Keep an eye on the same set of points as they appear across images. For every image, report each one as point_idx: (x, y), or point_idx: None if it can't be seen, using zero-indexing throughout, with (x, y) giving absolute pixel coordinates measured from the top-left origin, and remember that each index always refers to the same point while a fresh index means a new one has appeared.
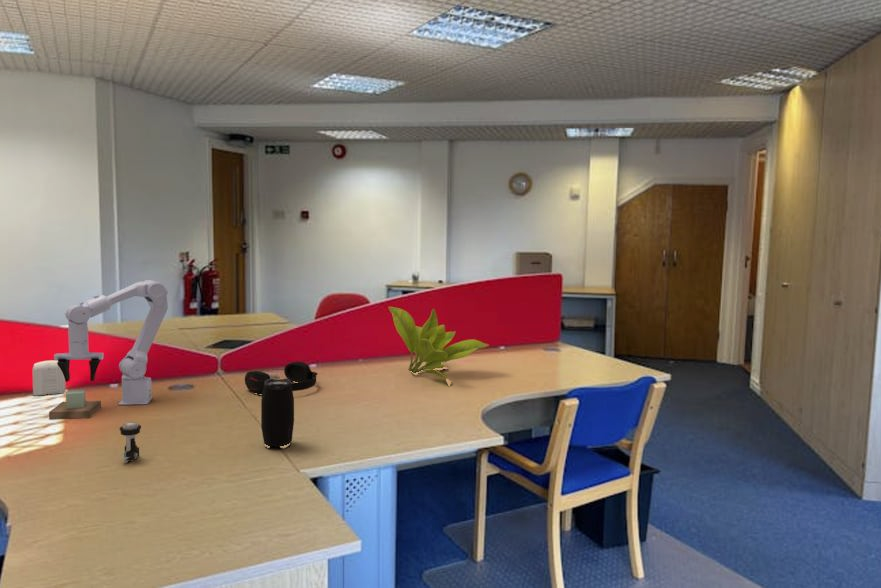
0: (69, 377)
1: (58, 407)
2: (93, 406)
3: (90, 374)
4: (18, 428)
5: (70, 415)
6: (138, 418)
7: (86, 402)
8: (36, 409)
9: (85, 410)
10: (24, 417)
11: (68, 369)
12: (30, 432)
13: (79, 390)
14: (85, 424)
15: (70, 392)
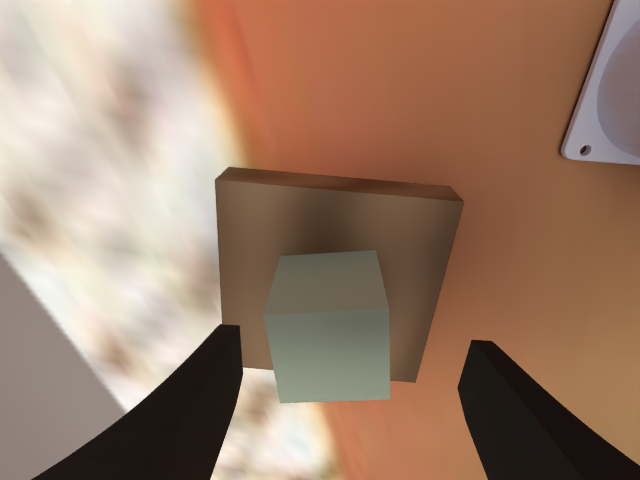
0: (231, 348)
1: (239, 299)
2: (428, 314)
3: (485, 472)
4: None
5: None
6: (619, 391)
7: (375, 226)
8: (79, 157)
9: (395, 370)
10: (105, 293)
11: (188, 441)
12: (230, 457)
13: (350, 337)
14: (402, 419)
15: (299, 375)
